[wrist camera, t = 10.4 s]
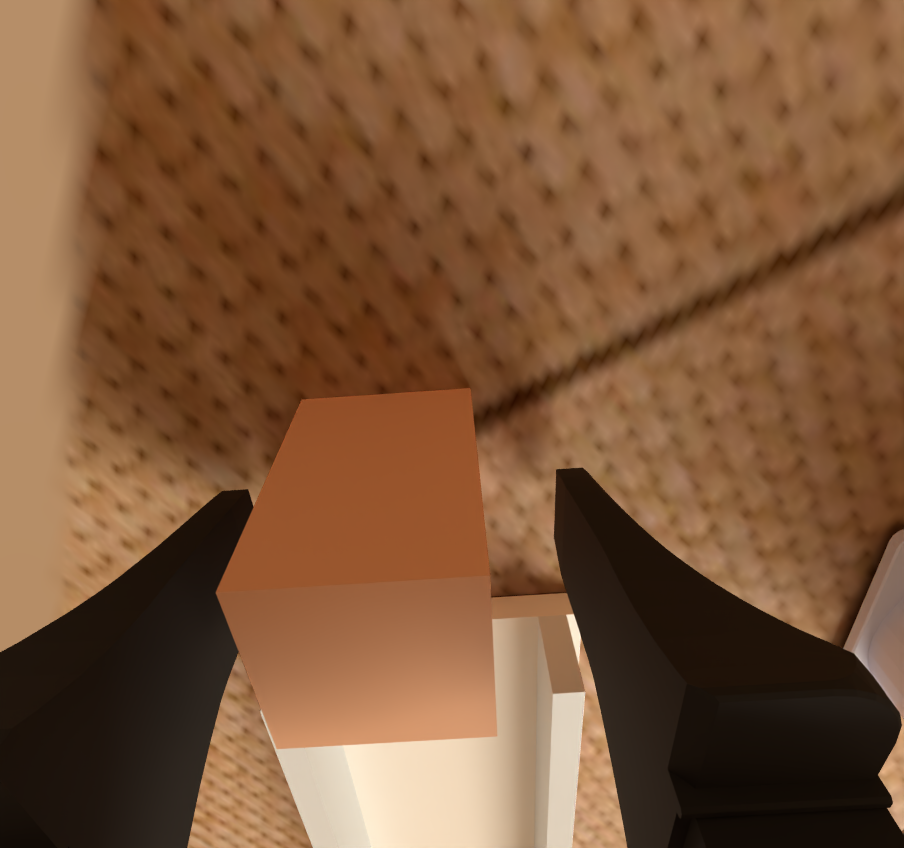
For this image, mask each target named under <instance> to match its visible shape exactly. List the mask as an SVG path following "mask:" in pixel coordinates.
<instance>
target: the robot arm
mask: <svg viewBox="0 0 904 848" xmlns="http://www.w3.org/2000/svg"><path fill="white" fill-rule="evenodd" d="M253 508H254V507H253V504H252V501H251V497H250V494H249V491H248V489H246V490H231V491H222V492H221V493H219V494H218V495H217V496H215V497H214V498H213V499H212V500H211V501H209V502H208V503H207V504H206V505H205V506H204V507H202V508H201V509H200V510H199V511H198V512H197V513H196V514H194V515H193V516H192V517H191V518H190V519H189V520H188V521H186V522H185V523H184V524H183V525H182V526H181V527H180V528H178V529H177V530H176V531H175V532H174V533H173V534H171V535H170V536H169V537H168V538H167V539H166V540H164V541H163V542H162V543H161V544H160V545H159V546H157V547H156V548H155V549H154V550H153V551H151V552H150V553H149V554H148V555H146V556H145V557H144V558H143V559H141V560H140V561H139V562H138V563H136V564H135V565H134V566H132V567H131V568H130V569H129V570H127V571H126V572H125V573H124V574H122V575H121V576H120V577H119V578H117V579H116V580H115V581H113V582H112V583H111V584H109V585H108V586H106V587H105V588H104V589H102V590H101V591H99V592H98V593H97V594H95V595H94V596H92V597H91V598H89V599H88V600H86V601H85V602H83V603H82V604H80V605H79V606H77V607H76V608H74V609H73V610H71V611H70V612H68V613H67V614H65V615H64V616H62V617H60V618H59V619H57V620H55V621H54V622H52V623H50V624H49V625H47V626H45V627H43V628H42V629H40V630H38V631H37V632H35V633H33V634H32V635H30V636H29V637H27V638H25V639H23V640H22V641H20V642H19V643H17V644H15V645H13V646H11V647H9V648H7V649H6V650H4V651H2V652H0V848H187V846H188V841H189V836H190V831H191V826H192V822H193V817H194V812H195V807H196V802H197V797H198V792H199V788H200V784H201V779H202V775H203V771H204V766H205V762H206V758H207V754H208V749H209V745H210V741H211V737H212V733H213V729H214V726H215V722H216V718H217V714H218V710H219V706H220V703H221V699H222V696H223V693H224V690H225V687H226V684H227V681H228V678H229V676H230V673H231V670H232V668H233V665H234V662H235V660H236V657H237V654H238V652H239V651H238V649H237V646H236V643H235V641H234V638H233V636H232V633H231V631H230V628H229V625H228V623H227V620H226V618H225V615H224V613H223V610H222V607H221V605H220V602H219V600H218V597H217V595H216V591H217V588H218V586H219V584H220V582H221V579H222V577H223V575H224V573H225V570H226V568H227V566H228V564H229V561H230V559H231V557H232V555H233V552H234V550H235V548H236V546H237V543H238V541H239V539H240V537H241V535H242V532H243V530H244V528H245V526H246V523H247V521H248V519H249V517H250V514H251V512H252V510H253ZM554 539H555V545H556V550H557V556H558V561H559V566H560V571H561V576H562V579H563V582H564V585H565V588H566V592H567V595H568V598H569V601H570V604H571V607H572V610H573V613H574V616H575V620H576V623H577V626H578V629H579V632H580V635H581V638H582V641H583V644H584V647H585V650H586V653H587V657H588V660H589V663H590V667H591V670H592V674H593V678H594V682H595V686H596V691H597V696H598V700H599V705H600V709H601V714H602V719H603V723H604V728H605V733H606V738H607V743H608V748H609V753H610V758H611V762H612V767H613V773H614V778H615V783H616V788H617V794H618V799H619V804H620V809H621V814H622V820H623V825H624V831H625V836H626V842H627V848H904V830H903V831H902V832H901V830H900V828H899V827H898V825H897V824H896V822H895V820H894V819H893V817H892V816H891V814H890V812H889V811H888V809H887V808H890V807H891V805H892V804H893V802H892V797H891V795H890V793H889V792H888V790H887V789H886V787H885V786H884V784H883V783H882V781H881V779H880V778H879V776H878V774H879V772H880V770H881V768H882V767H883V765H884V763H885V761H886V760H887V758H888V756H889V754H890V753H891V751H892V749H893V747H894V746H895V744H896V741H897V738H898V735H899V733H900V729H901V726H902V724H901V717H900V715H901V716H902V718H903V719H904V529H902V530H900V531H898V532H897V533H895V534H894V535H893V536H892V538H891V539H890V541H889V543H888V545H887V548H886V550H885V552H884V555H883V557H882V559H881V562H880V564H879V566H878V569H877V571H876V573H875V576H874V578H873V580H872V583H871V585H870V587H869V590H868V592H867V594H866V597H865V599H864V601H863V604H862V606H861V608H860V611H859V613H858V615H857V618H856V620H855V622H854V625H853V627H852V629H851V632H850V634H849V636H848V639H847V641H846V643H845V646H844V648H840V647H838V646H836V645H833V644H831V643H829V642H827V641H824V640H822V639H820V638H817V637H815V636H813V635H810V634H808V633H806V632H804V631H801V630H799V629H797V628H795V627H793V626H791V625H789V624H787V623H785V622H783V621H781V620H779V619H777V618H775V617H773V616H771V615H769V614H767V613H765V612H763V611H761V610H760V609H758V608H756V607H754V606H752V605H750V604H749V603H747V602H745V601H743V600H742V599H740V598H738V597H737V596H735V595H733V594H732V593H730V592H728V591H727V590H725V589H723V588H722V587H720V586H718V585H717V584H715V583H714V582H712V581H711V580H709V579H707V578H706V577H704V576H703V575H701V574H700V573H699V572H697V571H696V570H694V569H693V568H692V567H690V566H689V565H687V564H686V563H685V562H683V561H682V560H680V559H679V558H678V557H676V556H675V555H674V554H672V553H671V552H670V551H668V550H667V549H666V548H665V547H664V546H662V545H661V544H660V543H659V542H658V541H657V540H655V539H654V538H653V537H652V536H651V535H649V534H648V533H647V532H646V531H645V530H644V529H643V528H642V527H641V526H640V525H638V524H637V523H636V522H635V521H634V520H633V519H632V518H631V517H630V516H629V515H628V514H627V513H626V512H625V511H624V510H623V509H622V508H621V507H620V506H619V505H618V504H617V503H616V502H615V501H614V500H613V499H612V498H611V497H610V496H609V495H608V494H607V493H606V492H605V491H604V490H603V488H602V487H601V486H600V485H599V484H598V483H597V482H596V481H595V480H594V479H593V478H592V476H591V475H590V474H589V473H588V472H587V471H586V470H585V469H584V468H570V469H556V495H555V524H554Z"/></svg>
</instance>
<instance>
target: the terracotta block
mask: <svg viewBox="0 0 904 848" xmlns="http://www.w3.org/2000/svg"><path fill="white" fill-rule="evenodd" d="M216 595H217V597H218V600H219V602H220V605H221V607H222V610H223V613H224V615H225V618H226V620H227V623H228V625H229V628H230V631H231V633H232V636H233V638H234V641H235V643H236V646H237V649H238V651H239V654H240V656H241V659H242V661H243V664H244V667H245V669H246V672H247V674H248V677H249V679H250V682H251V684H252V687H253V690H254V692H255V695H256V697H257V700H258V702H259V705H260V708H261V710H262V713H263V715H264V718H265V720H266V723H267V726H268V728H269V731H270V733H271V736H272V738H273V741H274V743H275V746H276V749H289V748H307V747H324V746H341V745H359V744H376V743H393V742H411V741H428V740H445V739H463V738H480V737H497V718H496V695H495V672H494V649H493V626H492V604H491V581H490V568H489V559H488V549H487V540H486V530H485V521H484V511H483V502H482V492H481V483H480V473H479V464H478V454H477V445H476V436H475V426H474V417H473V407H472V398H471V388H463V389H448V390H434V391H419V392H404V393H390V394H375V395H360V396H346V397H331V398H316V399H302V400H301V402H300V404H299V406H298V409H297V411H296V413H295V415H294V418H293V420H292V422H291V424H290V427H289V429H288V431H287V433H286V436H285V438H284V440H283V442H282V445H281V447H280V449H279V451H278V454H277V456H276V458H275V460H274V463H273V465H272V467H271V469H270V472H269V474H268V476H267V478H266V481H265V483H264V485H263V487H262V490H261V492H260V494H259V496H258V499H257V501H256V503H255V505H254V508H253V510H252V512H251V514H250V517H249V519H248V521H247V523H246V526H245V528H244V530H243V532H242V535H241V537H240V539H239V541H238V543H237V546H236V548H235V550H234V552H233V555H232V557H231V559H230V561H229V564H228V566H227V568H226V570H225V573H224V575H223V577H222V579H221V582H220V584H219V586H218V588H217V591H216Z"/></svg>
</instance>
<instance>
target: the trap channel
mask: <svg viewBox="0 0 904 848" xmlns="http://www.w3.org/2000/svg"><path fill="white" fill-rule="evenodd" d="M491 604H492V626H493V649H494V672H495V695H496V718H497V737H480V738H463V739H445V740H428V741H411V742H393V743H376V744H359V745H341V746H324V747H307V748H289V749H276V746H275V743H274V741H273V738H272V736H271V733H270V731H269V728H268V726H267V723H266V720H265V718H264V715H263V713H262V710H261V709H260V713H261V715H262V718H263V721H264V723H265V726H266V728H267V731H268V733H269V736H270V739H271V741H272V744H273V746H274V749H275V751H276V754H277V757H278V759H279V762H280V764H281V767H282V769H283V772H284V775H285V777H286V780H287V782H288V785H289V787H290V790H291V793H292V795H293V798H294V800H295V803H296V805H297V808H298V811H299V813H300V816H301V818H302V821H303V823H304V826H305V829H306V831H307V834H308V836H309V839H310V841H311V844H312V847H313V848H572V841H573V829H574V817H575V806H576V794H577V783H578V771H579V759H580V748H581V736H582V724H583V713H584V701H585V689H584V685H583V681H582V676H581V672H580V668H579V652H580V639H581V635H580V632H579V629H578V626H577V623H576V620H575V616H574V613H573V610H572V607H571V604H570V601H569V598H568V595H567V593H557V594H541V595H525V596H509V597H492V598H491Z"/></svg>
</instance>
